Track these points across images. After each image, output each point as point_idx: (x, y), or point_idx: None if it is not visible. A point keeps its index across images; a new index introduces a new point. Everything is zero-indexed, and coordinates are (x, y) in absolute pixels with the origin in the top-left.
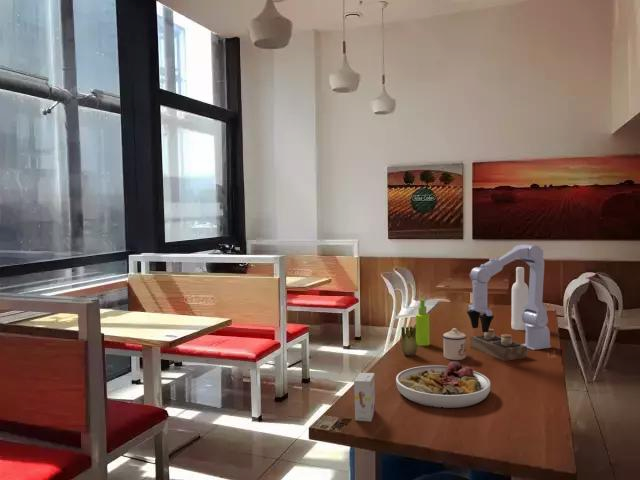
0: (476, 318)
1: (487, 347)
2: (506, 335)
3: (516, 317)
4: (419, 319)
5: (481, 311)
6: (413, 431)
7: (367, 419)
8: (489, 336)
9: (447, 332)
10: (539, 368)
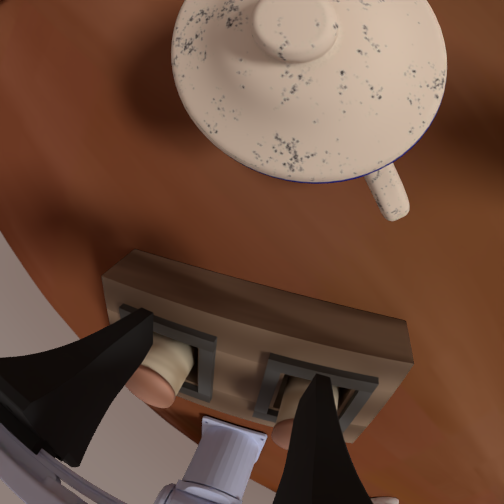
0: (289, 475)
1: (245, 305)
2: (146, 390)
3: None
4: None
5: (3, 456)
6: None
7: None
8: (288, 398)
9: (420, 33)
10: (49, 264)
